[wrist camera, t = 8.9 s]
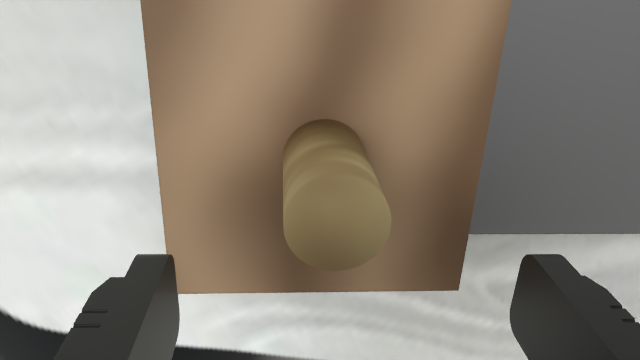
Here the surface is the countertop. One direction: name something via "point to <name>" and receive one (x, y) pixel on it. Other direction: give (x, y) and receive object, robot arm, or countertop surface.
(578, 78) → the mat
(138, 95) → the countertop surface
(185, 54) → the lid
